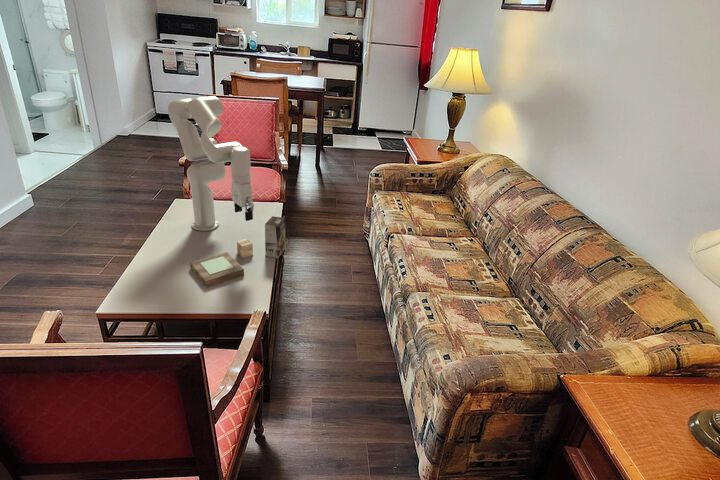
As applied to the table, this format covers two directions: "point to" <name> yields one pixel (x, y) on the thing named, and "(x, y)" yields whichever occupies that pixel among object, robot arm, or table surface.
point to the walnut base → (216, 269)
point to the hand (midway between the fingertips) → (243, 215)
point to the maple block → (244, 248)
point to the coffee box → (275, 237)
